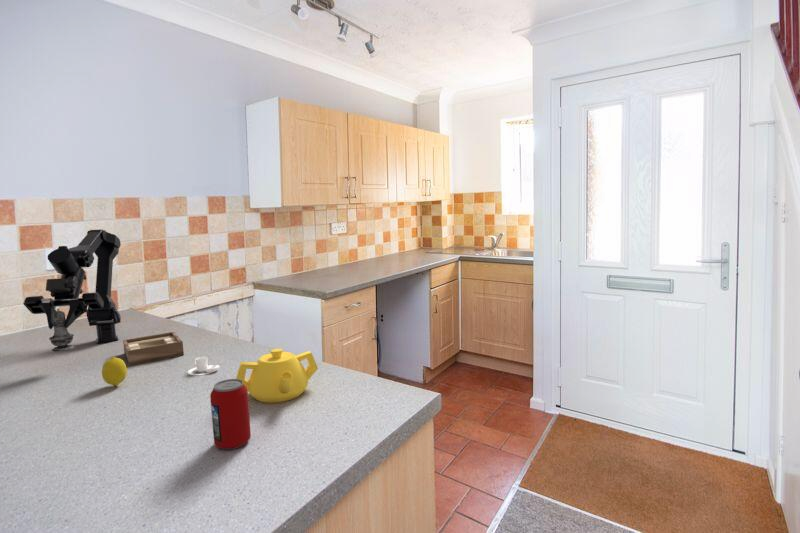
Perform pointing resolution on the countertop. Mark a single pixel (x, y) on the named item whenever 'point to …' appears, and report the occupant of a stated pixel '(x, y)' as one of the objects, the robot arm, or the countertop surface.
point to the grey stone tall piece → (60, 333)
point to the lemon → (114, 371)
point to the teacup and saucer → (203, 366)
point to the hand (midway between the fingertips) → (58, 327)
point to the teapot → (277, 375)
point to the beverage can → (230, 414)
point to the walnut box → (152, 348)
